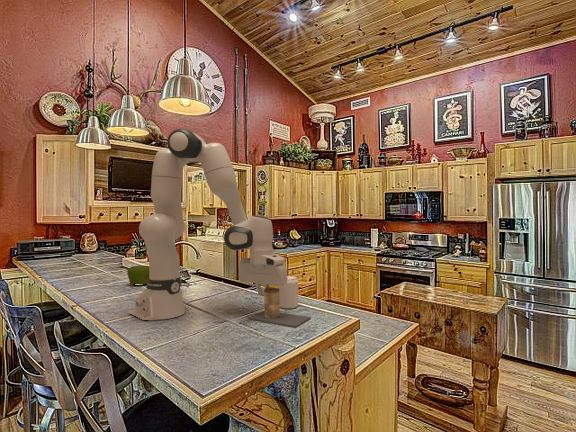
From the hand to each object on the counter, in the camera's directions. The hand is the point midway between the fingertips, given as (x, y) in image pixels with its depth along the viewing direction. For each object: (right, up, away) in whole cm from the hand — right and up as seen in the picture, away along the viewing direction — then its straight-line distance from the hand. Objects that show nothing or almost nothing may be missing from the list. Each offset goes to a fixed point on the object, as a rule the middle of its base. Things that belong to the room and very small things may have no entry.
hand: (262, 295), depth 127 cm
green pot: (-72, -9, +61) cm, 95 cm away
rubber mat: (+6, -8, -4) cm, 11 cm away
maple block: (+4, -7, -2) cm, 8 cm away
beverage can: (+10, -8, +12) cm, 18 cm away
